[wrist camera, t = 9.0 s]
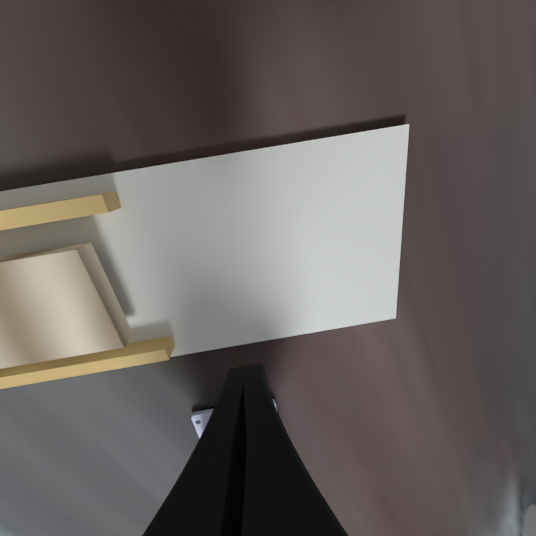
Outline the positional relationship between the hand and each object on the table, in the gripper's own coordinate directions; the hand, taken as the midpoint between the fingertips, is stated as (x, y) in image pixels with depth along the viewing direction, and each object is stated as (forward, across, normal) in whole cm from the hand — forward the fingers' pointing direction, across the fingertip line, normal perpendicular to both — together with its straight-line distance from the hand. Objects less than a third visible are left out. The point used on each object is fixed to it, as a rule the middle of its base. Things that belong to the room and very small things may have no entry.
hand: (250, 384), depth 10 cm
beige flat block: (+9, +14, -2) cm, 17 cm away
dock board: (+9, +5, -2) cm, 11 cm away
